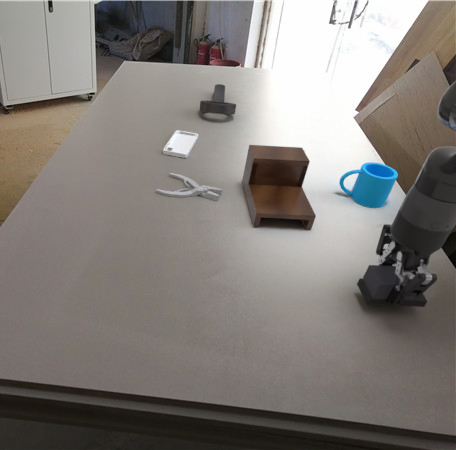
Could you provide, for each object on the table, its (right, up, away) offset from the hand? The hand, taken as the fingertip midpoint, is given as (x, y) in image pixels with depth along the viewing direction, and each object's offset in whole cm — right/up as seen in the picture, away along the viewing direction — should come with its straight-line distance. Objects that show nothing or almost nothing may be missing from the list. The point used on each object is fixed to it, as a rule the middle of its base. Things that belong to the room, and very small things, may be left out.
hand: (385, 291), depth 72 cm
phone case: (-34, +36, +50) cm, 70 cm away
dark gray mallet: (-19, +55, +76) cm, 95 cm away
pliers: (-32, +20, +30) cm, 48 cm away
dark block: (+1, -1, +1) cm, 1 cm away
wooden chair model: (-13, +17, +26) cm, 33 cm away
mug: (+11, +19, +31) cm, 37 cm away
